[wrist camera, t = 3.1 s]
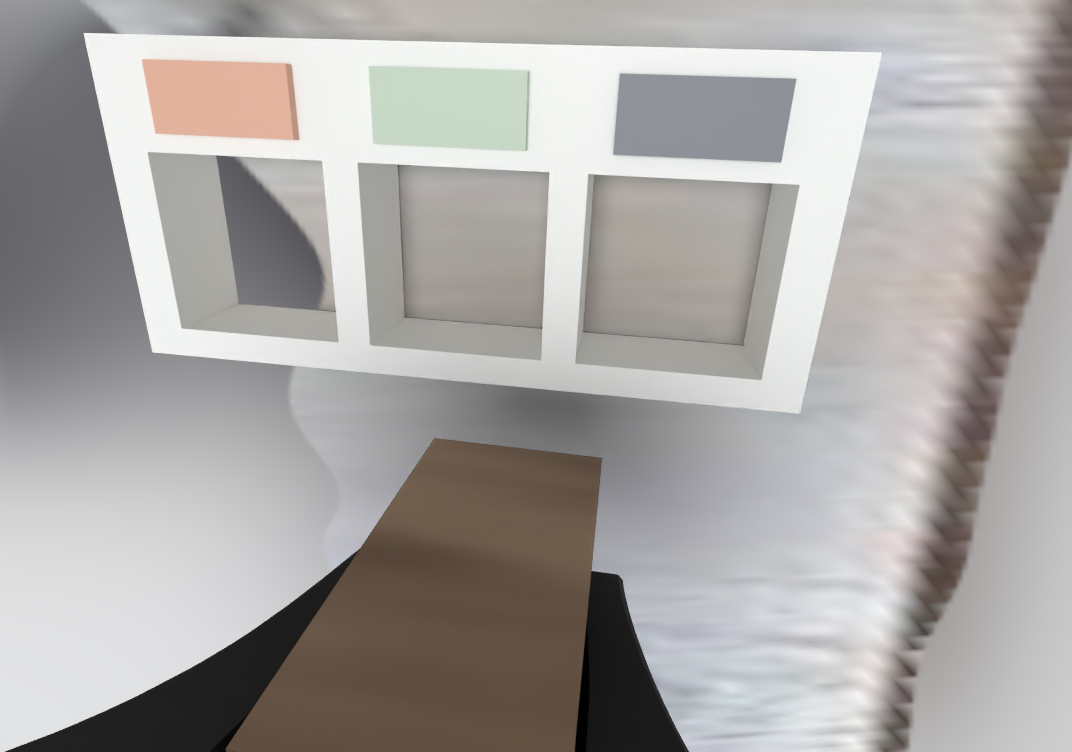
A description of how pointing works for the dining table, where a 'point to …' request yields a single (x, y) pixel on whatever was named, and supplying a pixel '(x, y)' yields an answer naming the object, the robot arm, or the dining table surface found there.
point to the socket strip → (484, 143)
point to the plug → (450, 616)
